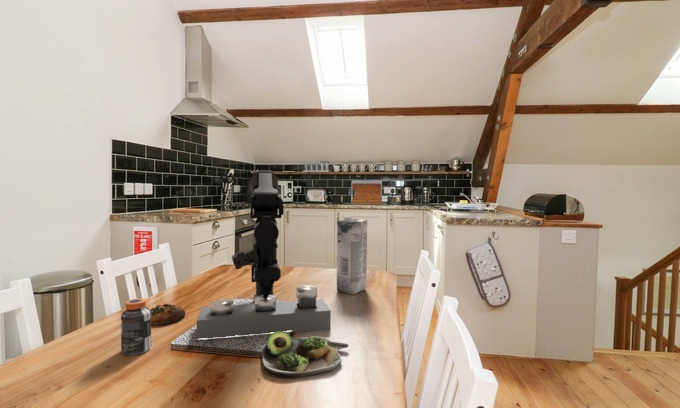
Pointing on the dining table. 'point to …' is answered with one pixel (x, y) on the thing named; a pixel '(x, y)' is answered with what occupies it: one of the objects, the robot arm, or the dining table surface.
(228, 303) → the plunger
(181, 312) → the bread roll
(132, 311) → the pill bottle
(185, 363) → the dining table surface
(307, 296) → the plunger
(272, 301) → the plunger middle
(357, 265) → the juice carton
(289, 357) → the salad plate
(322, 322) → the console
